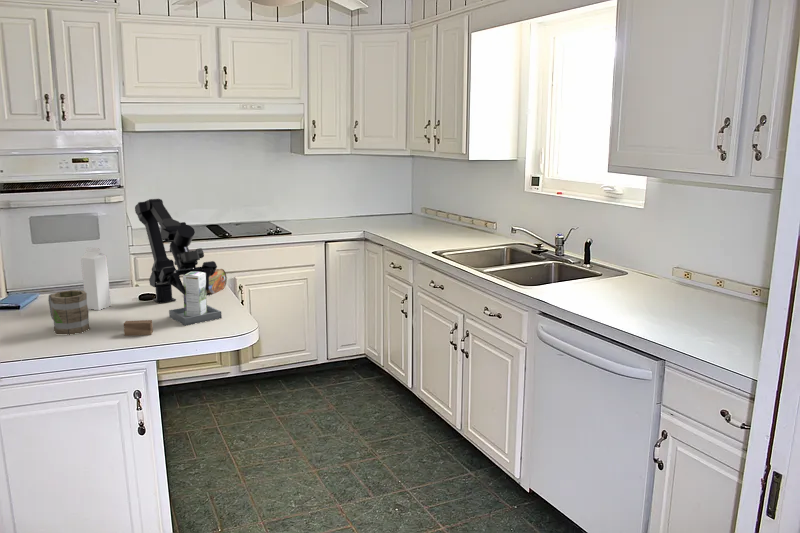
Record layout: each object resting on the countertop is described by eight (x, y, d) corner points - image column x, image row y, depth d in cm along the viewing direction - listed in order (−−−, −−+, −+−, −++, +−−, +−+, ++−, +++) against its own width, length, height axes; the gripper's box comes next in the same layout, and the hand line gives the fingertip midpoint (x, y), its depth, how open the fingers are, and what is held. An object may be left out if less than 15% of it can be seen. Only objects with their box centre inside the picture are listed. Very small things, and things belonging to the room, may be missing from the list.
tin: (209, 296, 262) (208, 274, 260) (202, 295, 262) (200, 274, 261) (227, 287, 276) (226, 266, 274) (220, 286, 277) (219, 266, 275)
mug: (97, 328, 220) (94, 292, 218) (67, 337, 211) (63, 300, 209) (67, 321, 228) (64, 286, 226) (37, 329, 219) (33, 293, 217)
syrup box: (191, 311, 235) (189, 271, 232) (207, 312, 234) (205, 271, 231) (184, 316, 229) (181, 274, 226) (200, 317, 228) (198, 275, 225)
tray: (169, 317, 233) (168, 310, 233) (204, 310, 241) (204, 303, 241) (185, 325, 224) (184, 318, 223) (221, 318, 232) (221, 311, 231)
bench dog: (126, 332, 216) (125, 320, 215) (153, 331, 217) (152, 319, 216) (124, 335, 213) (123, 323, 212) (150, 334, 214) (150, 322, 213)
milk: (98, 310, 241) (93, 250, 236) (85, 309, 243) (79, 248, 238) (111, 306, 247) (105, 247, 242) (98, 304, 249) (92, 245, 244)
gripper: (160, 244, 223) (174, 283, 217) (213, 238, 235) (228, 275, 229) (153, 263, 231) (167, 301, 225) (205, 256, 243) (219, 292, 237)
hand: (196, 292), depth 229 cm, fingers closed on syrup box, 8 cm apart
